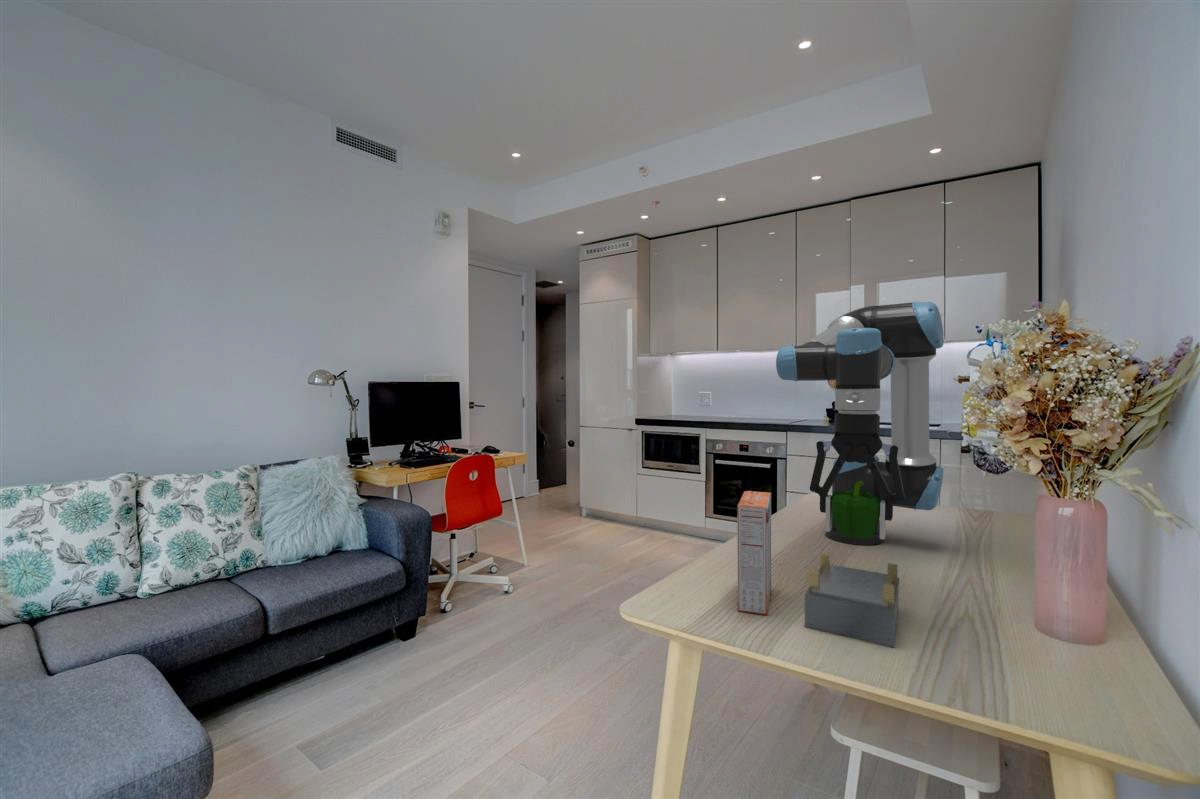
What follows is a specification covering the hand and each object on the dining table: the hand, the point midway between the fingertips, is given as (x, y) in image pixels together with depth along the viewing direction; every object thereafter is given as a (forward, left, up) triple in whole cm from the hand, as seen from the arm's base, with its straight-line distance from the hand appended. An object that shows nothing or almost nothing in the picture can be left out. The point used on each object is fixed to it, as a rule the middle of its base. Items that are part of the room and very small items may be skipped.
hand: (854, 533), depth 98 cm
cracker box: (+2, -18, -16) cm, 24 cm away
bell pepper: (0, 0, -1) cm, 1 cm away
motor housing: (-2, 0, -16) cm, 16 cm away
